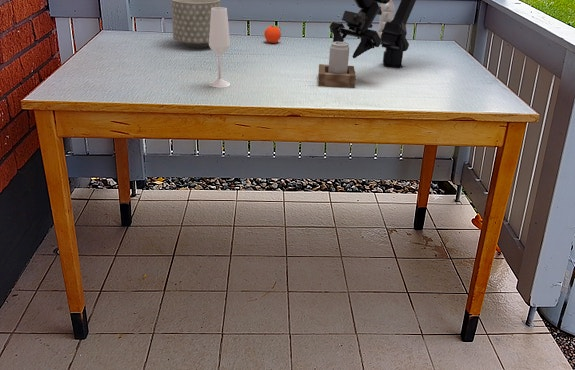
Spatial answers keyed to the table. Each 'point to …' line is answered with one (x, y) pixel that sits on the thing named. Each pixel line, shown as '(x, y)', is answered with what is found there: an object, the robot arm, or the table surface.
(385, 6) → the plastic bottle
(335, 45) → the beverage can
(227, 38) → the champagne flute
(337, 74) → the socket block
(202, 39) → the planter
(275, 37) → the clementine
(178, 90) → the table surface
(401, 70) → the table surface
